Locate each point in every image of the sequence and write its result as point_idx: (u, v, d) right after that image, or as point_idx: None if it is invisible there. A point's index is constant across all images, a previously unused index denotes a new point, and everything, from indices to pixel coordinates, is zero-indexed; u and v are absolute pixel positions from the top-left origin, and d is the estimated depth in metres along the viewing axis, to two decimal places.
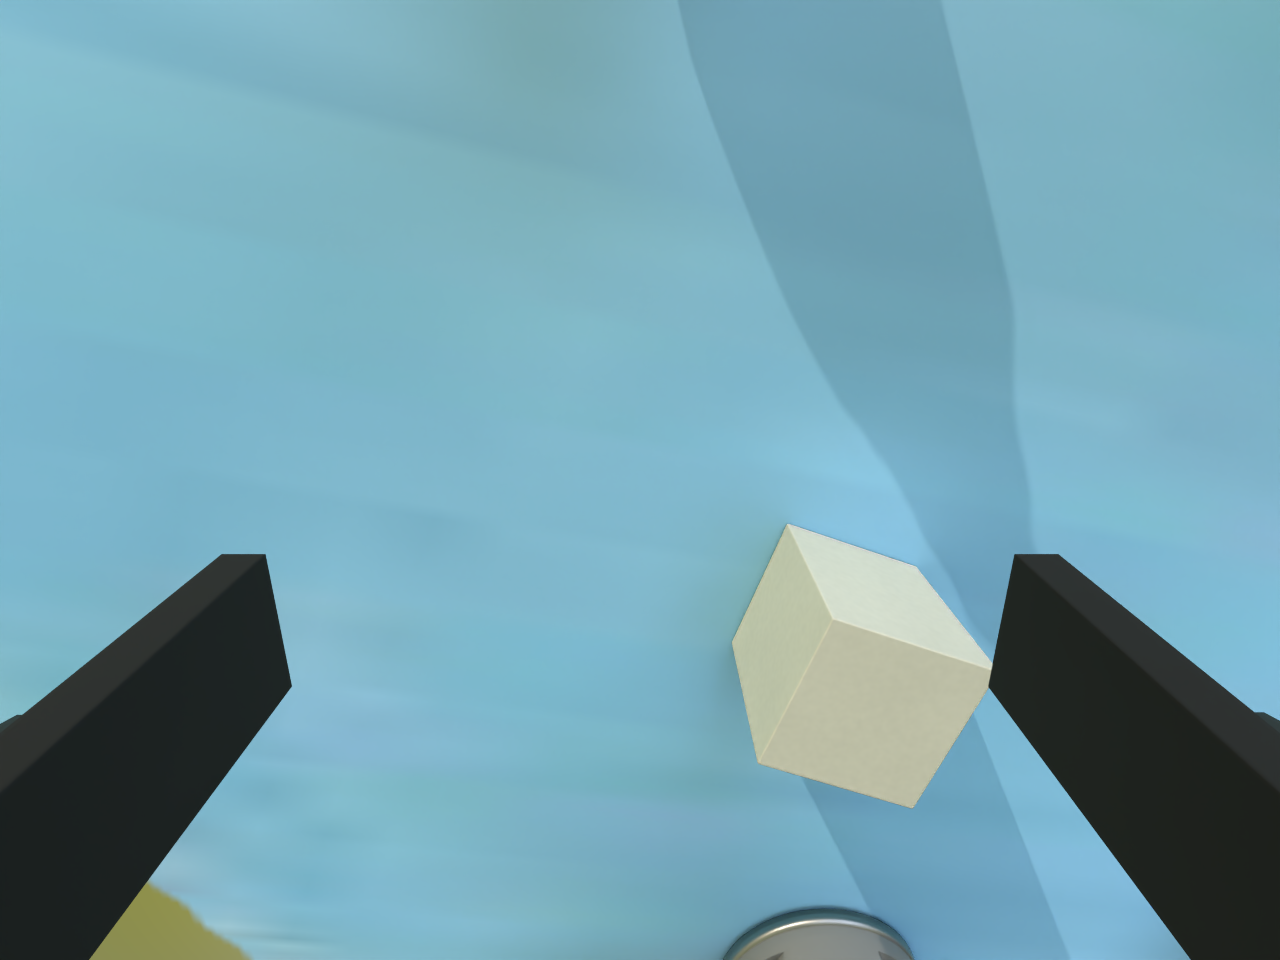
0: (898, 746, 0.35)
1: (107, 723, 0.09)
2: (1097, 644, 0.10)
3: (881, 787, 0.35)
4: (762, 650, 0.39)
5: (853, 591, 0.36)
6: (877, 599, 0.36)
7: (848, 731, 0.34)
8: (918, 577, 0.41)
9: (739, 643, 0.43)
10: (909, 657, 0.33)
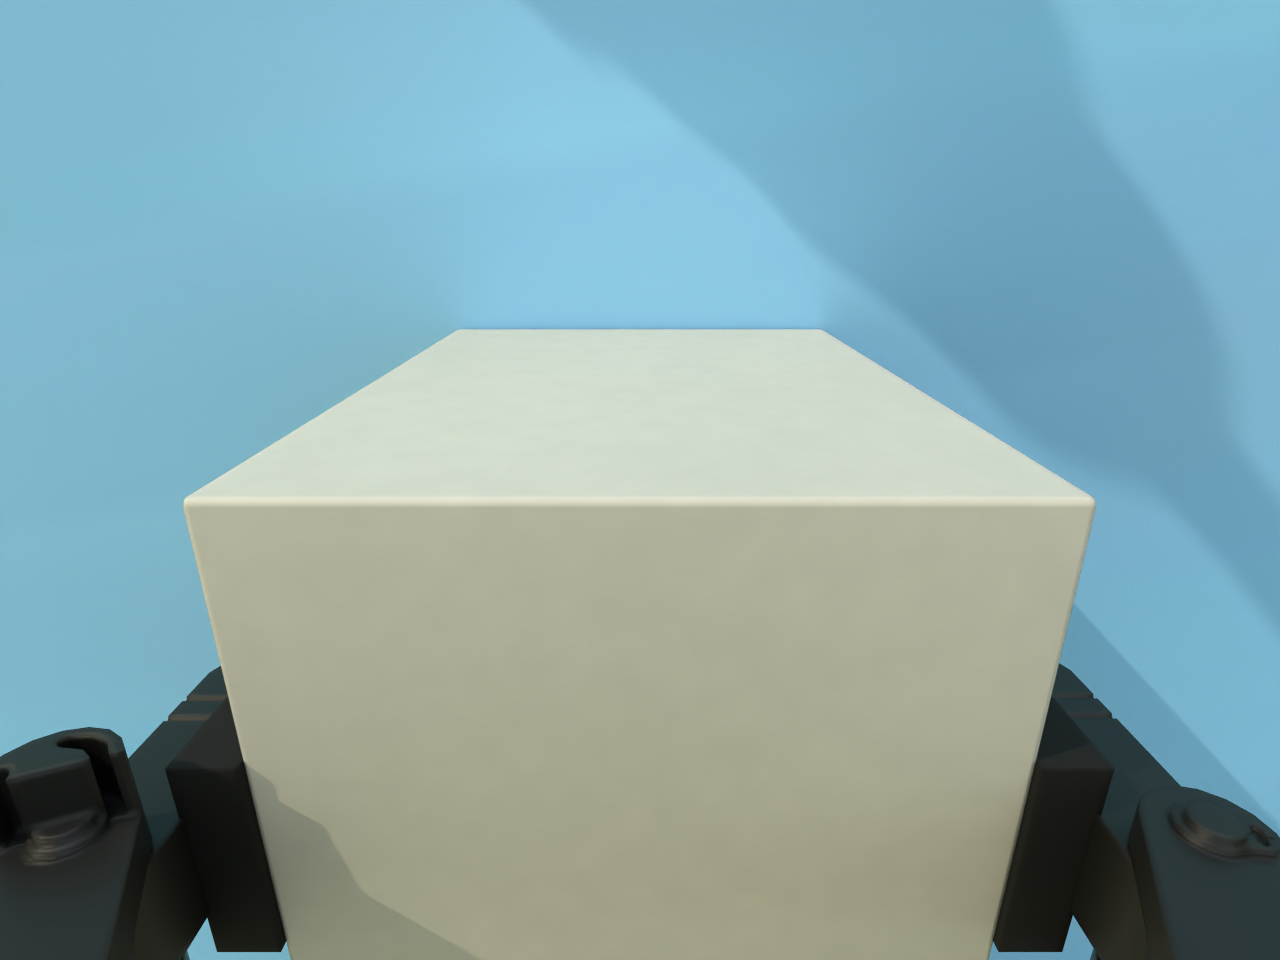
0: (790, 926, 0.08)
1: None
2: None
3: None
4: None
5: (492, 400, 0.10)
6: (584, 401, 0.10)
7: (562, 926, 0.08)
8: (817, 341, 0.15)
9: None
10: (634, 568, 0.07)
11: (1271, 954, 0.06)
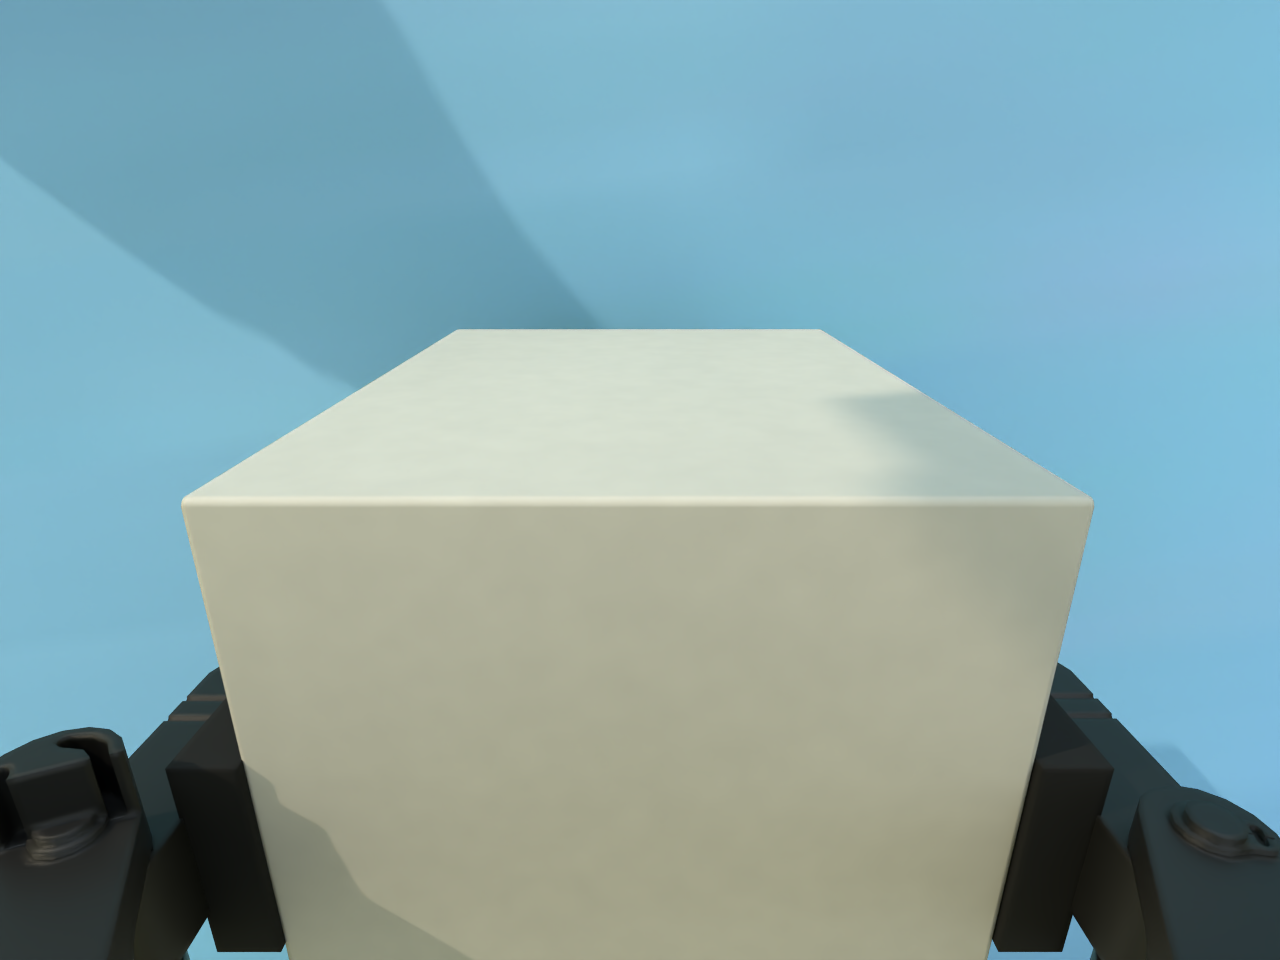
0: (788, 927, 0.08)
1: None
2: None
3: None
4: None
5: (491, 400, 0.10)
6: (582, 401, 0.10)
7: (561, 927, 0.08)
8: (816, 341, 0.15)
9: None
10: (632, 568, 0.07)
11: (1270, 954, 0.06)
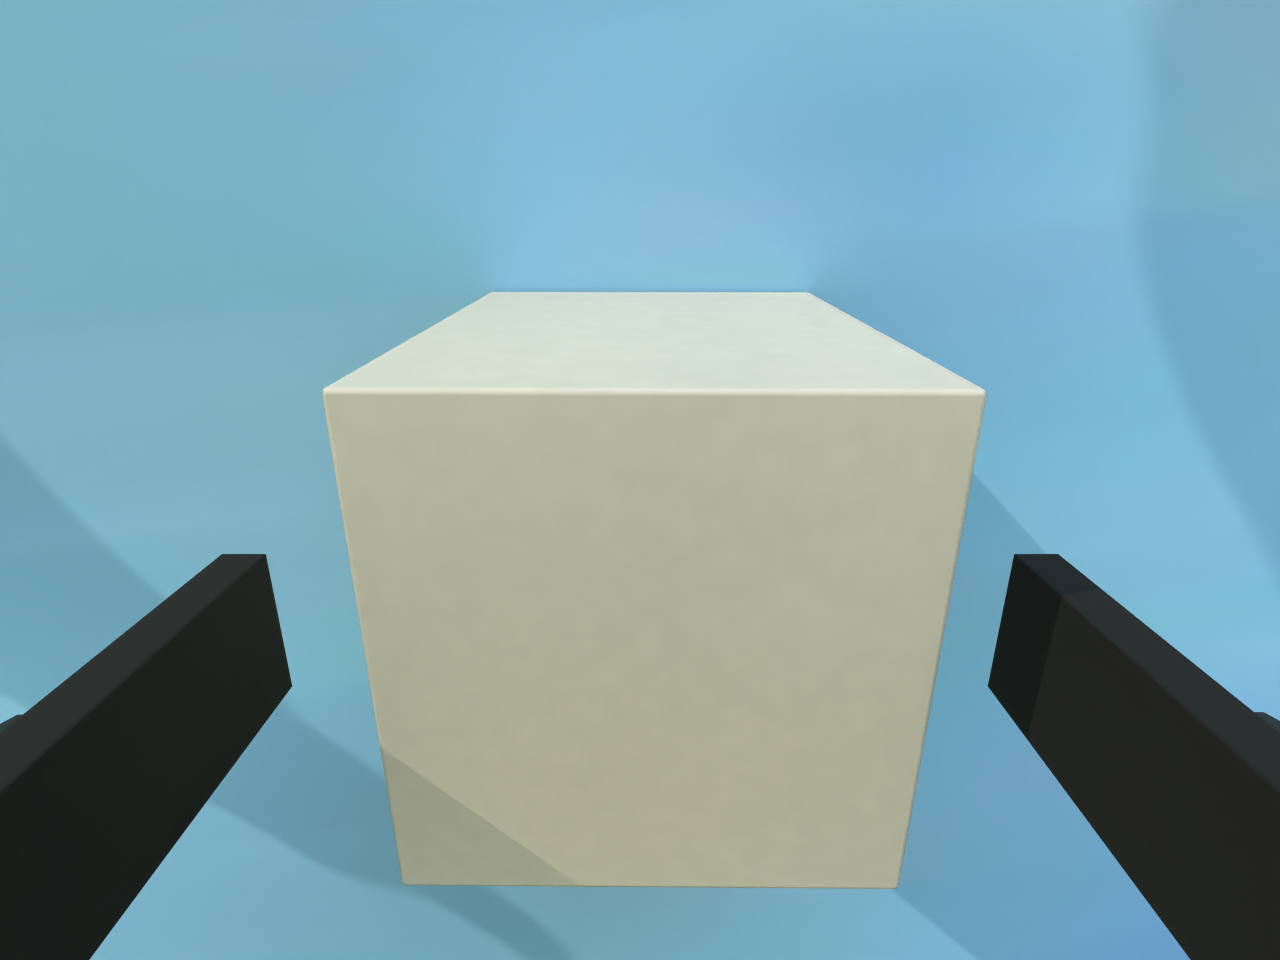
0: (766, 735, 0.11)
1: (107, 723, 0.09)
2: (1097, 644, 0.10)
3: (777, 857, 0.12)
4: None
5: (533, 337, 0.13)
6: (606, 338, 0.12)
7: (591, 733, 0.11)
8: (802, 300, 0.17)
9: None
10: (649, 442, 0.09)
11: None
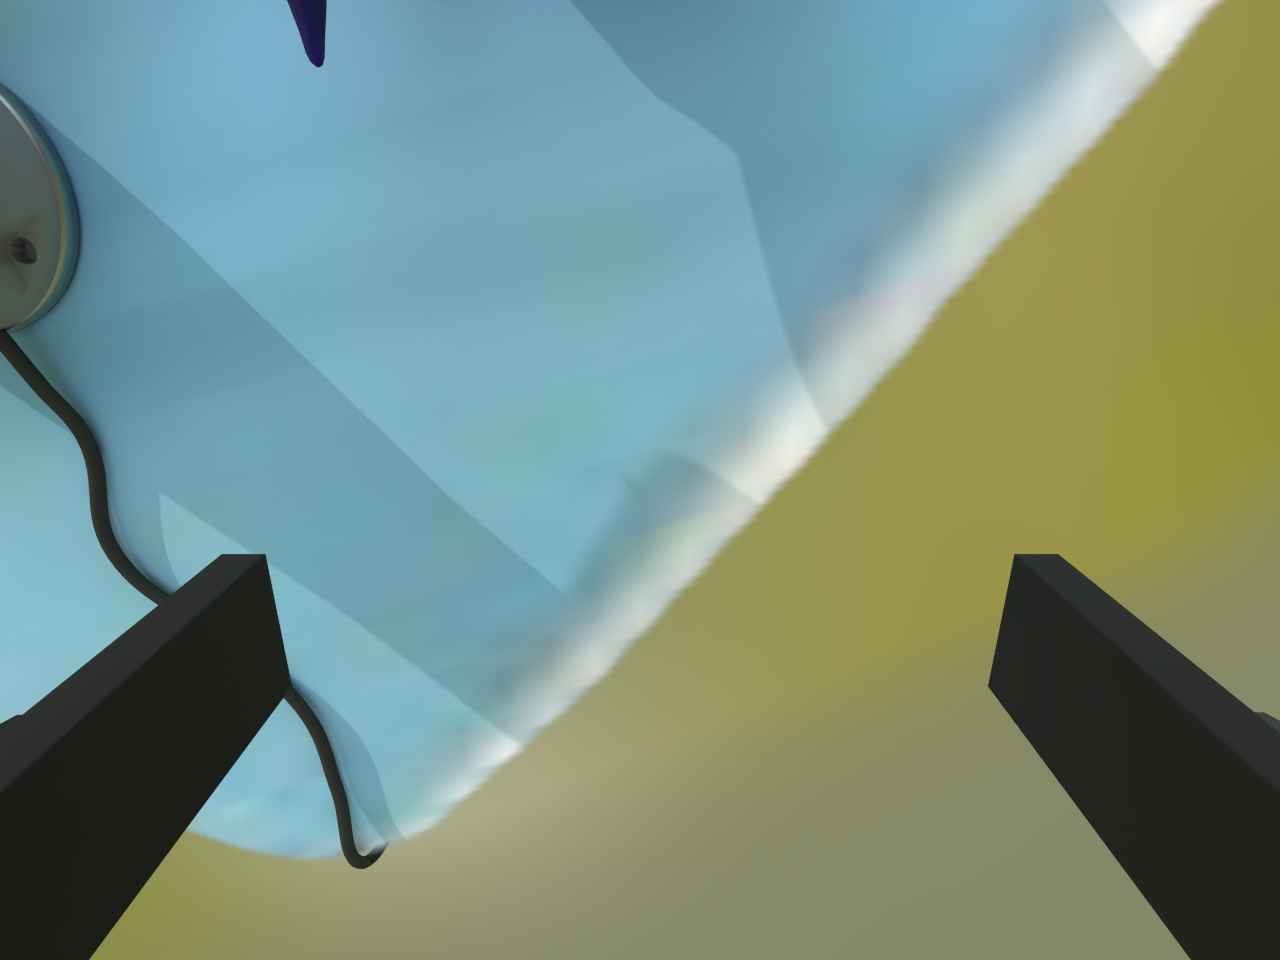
0: None
1: (106, 723, 0.09)
2: (1097, 644, 0.10)
3: None
4: None
5: None
6: None
7: None
8: None
9: None
10: None
11: None
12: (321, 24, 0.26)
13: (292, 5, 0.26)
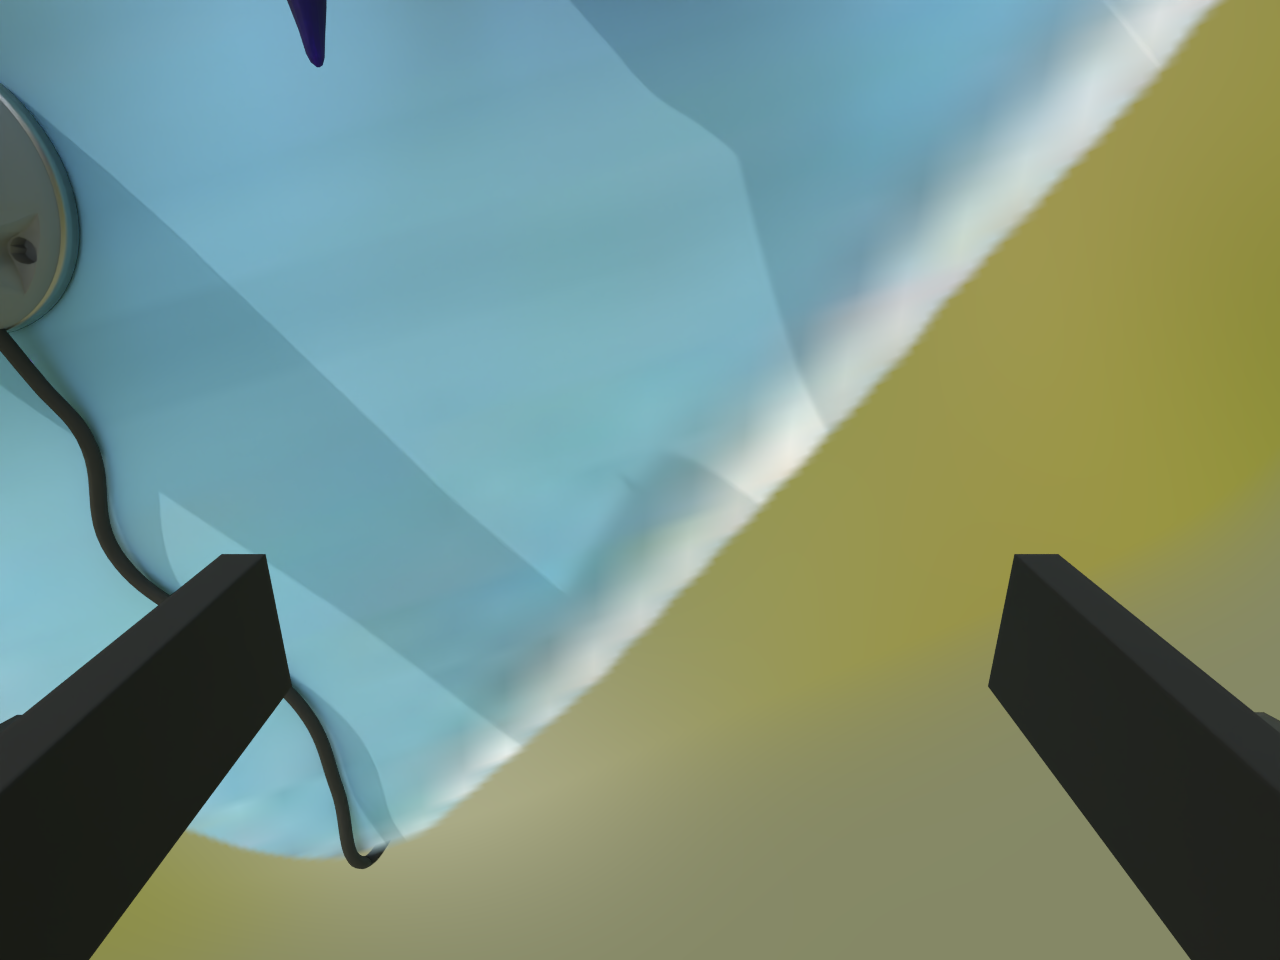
0: None
1: (106, 723, 0.09)
2: (1097, 644, 0.10)
3: None
4: None
5: None
6: None
7: None
8: None
9: None
10: None
11: None
12: (321, 24, 0.26)
13: (292, 5, 0.26)
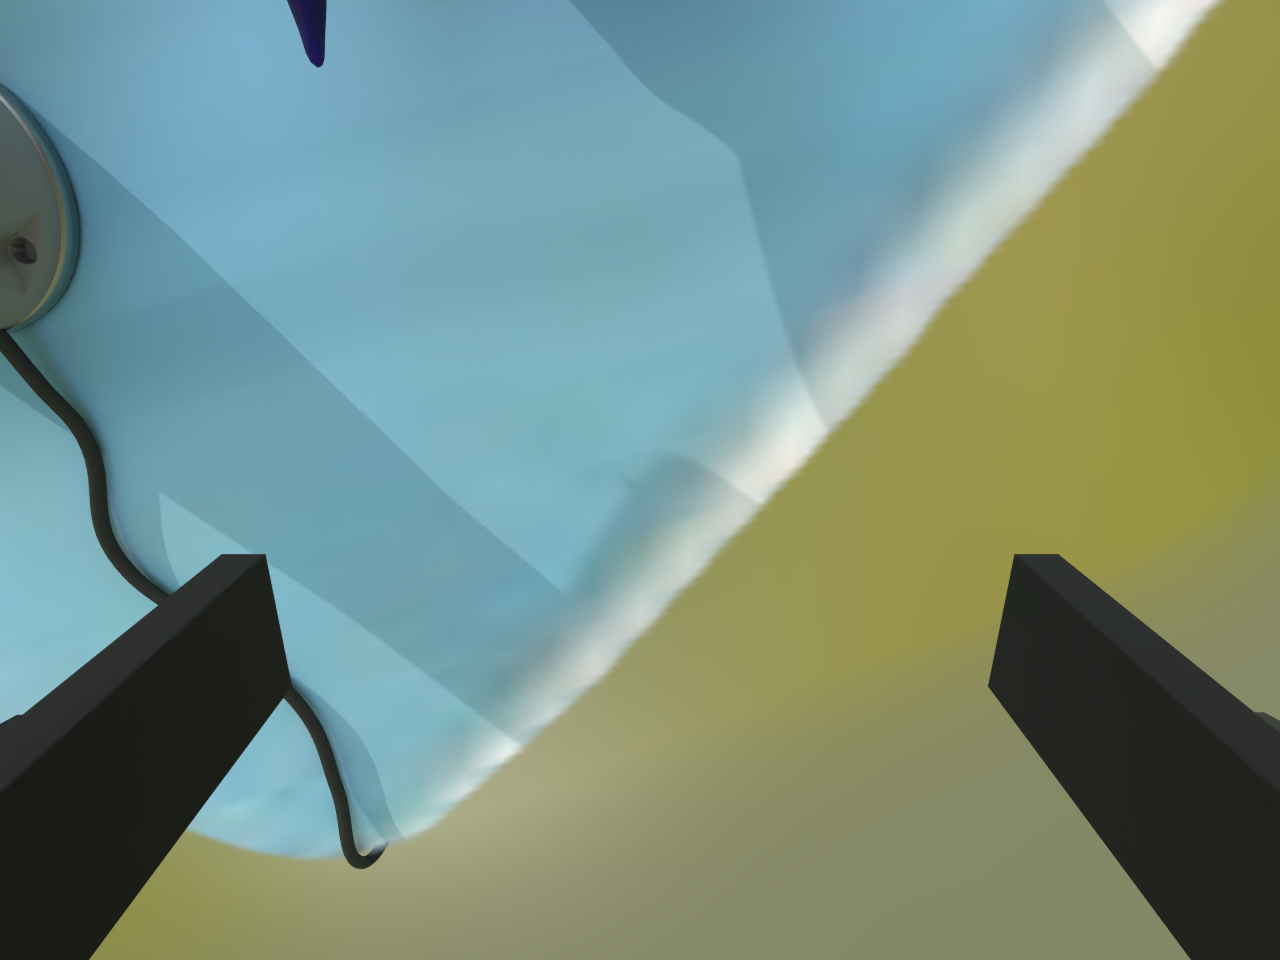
0: None
1: (106, 723, 0.09)
2: (1097, 644, 0.10)
3: None
4: None
5: None
6: None
7: None
8: None
9: None
10: None
11: None
12: (321, 24, 0.26)
13: (292, 5, 0.26)
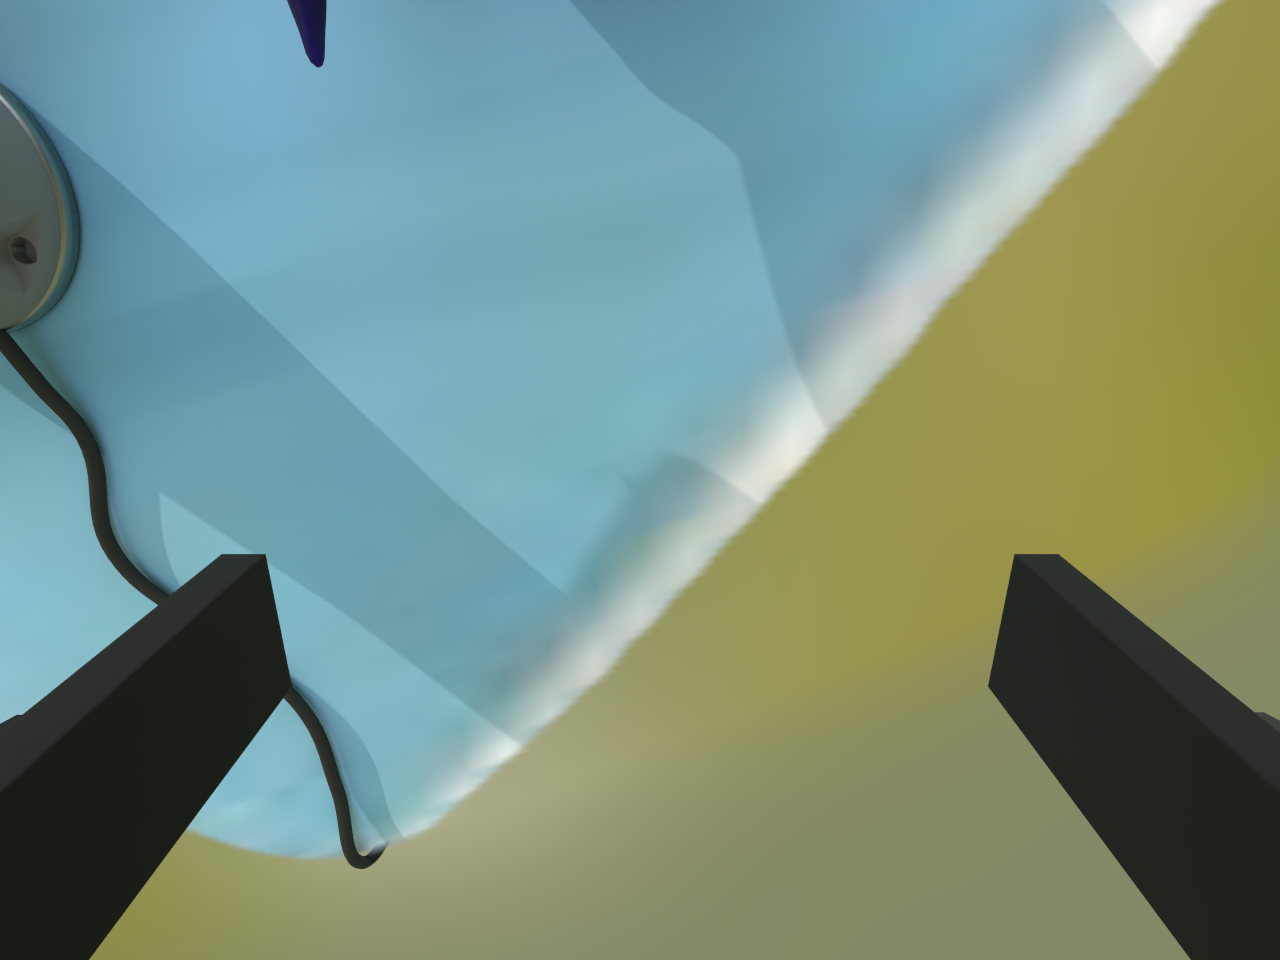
0: None
1: (106, 723, 0.09)
2: (1097, 644, 0.10)
3: None
4: None
5: None
6: None
7: None
8: None
9: None
10: None
11: None
12: (321, 24, 0.26)
13: (292, 5, 0.26)
